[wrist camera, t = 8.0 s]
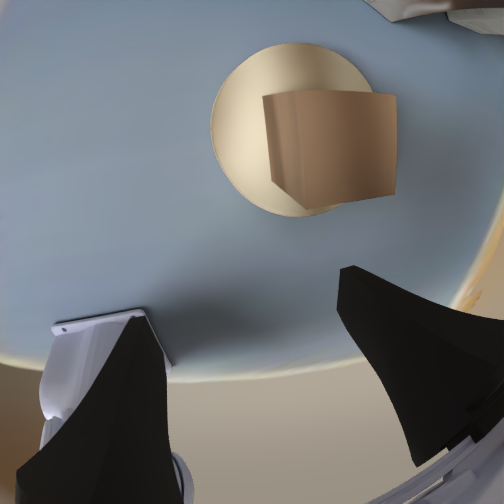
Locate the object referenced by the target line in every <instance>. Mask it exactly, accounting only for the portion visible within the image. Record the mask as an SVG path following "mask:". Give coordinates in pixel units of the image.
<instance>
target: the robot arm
mask: <svg viewBox="0 0 504 504" xmlns="http://www.w3.org/2000/svg"><path fill="white" fill-rule="evenodd" d="M337 312H338V314H339V316H340V318H341V320H342V322H343V324H344V325H345V327H346V329H347V331H348V332H349V334H350V335H351V337H352V338H353V340H354V341H355V343H356V344H357V346H358V347H359V348H360V350H361V351H362V353H363V354H364V356H365V357H366V358H367V360H368V361H369V363H370V364H371V366H372V367H373V369H374V370H375V372H376V373H377V375H378V376H379V378H380V380H381V382H382V384H383V386H384V388H385V390H386V392H387V394H388V396H389V397H390V400H391V402H392V404H393V406H394V409H395V411H396V413H397V415H398V418H399V421H400V423H401V426H402V428H403V431H404V434H405V437H406V440H407V443H408V446H409V450H410V453H411V457H412V461H413V462H414V464H415V466H416V467H419V466H421V465H422V464H423V463H425V462H426V461H428V460H429V459H431V458H432V457H434V456H435V455H436V454H438V453H439V452H440V451H442V450H443V449H445V448H446V447H447V449H448V450H449V452H448V453H447V454H445V455H444V456H443V457H442V458H440V459H439V460H437V461H436V462H435V463H433V464H432V465H430V466H429V467H428V468H426V469H425V470H423V471H422V472H420V473H419V474H417V475H416V476H414V477H412V478H411V479H409V480H408V481H406V482H404V483H403V484H401V485H399V486H398V487H396V488H394V489H392V490H390V491H389V492H387V493H385V494H383V495H381V496H379V497H377V498H375V499H373V500H371V501H369V502H367V503H365V504H402V503H404V502H406V501H407V500H409V499H411V498H412V497H414V496H415V495H417V494H418V493H420V492H421V491H423V490H424V489H426V488H427V487H429V486H430V485H432V484H433V483H434V482H436V481H437V480H439V479H440V478H441V477H443V481H442V482H440V483H438V484H437V485H435V486H433V487H431V488H430V489H428V490H426V491H425V492H423V493H422V494H420V495H418V496H417V497H416V498H414V499H413V500H412V501H410V502H409V503H408V504H504V320H498V319H491V318H486V317H481V316H476V315H472V314H468V313H464V312H461V311H457V310H454V309H451V308H448V307H445V306H442V305H440V304H437V303H434V302H432V301H429V300H427V299H424V298H422V297H420V296H417V295H415V294H413V293H411V292H409V291H406V290H404V289H402V288H400V287H398V286H396V285H394V284H392V283H390V282H388V281H386V280H384V279H382V278H380V277H378V276H376V275H374V274H372V273H370V272H368V271H366V270H364V269H362V268H359V267H357V266H355V265H353V266H349V267H346V268H342V269H340V278H339V290H338V300H337ZM132 315H134V316H136V317H132ZM65 328H66V329H65ZM51 329H52V332H53V333H54V335H55V336H56V337H55V339H54V342H53V345H52V348H51V351H50V354H49V357H48V360H47V363H46V366H45V369H44V372H43V376H42V379H41V383H40V390H39V393H40V394H39V395H40V403H41V408H42V411H43V414H44V416H45V418H46V419H47V420H46V422H45V424H44V428H43V433H42V438H41V444H40V450H39V452H38V453H36V454H35V455H34V456H33V457H32V458H31V459H30V460H29V461H27V462H26V463H25V464H24V465H23V466H21V467H20V468H19V469H18V470H17V472H16V487H15V504H193V501H194V484H193V479H192V476H191V473H190V471H189V469H188V467H187V465H186V463H185V462H184V460H183V459H182V458H181V457H180V456H179V455H178V454H177V453H175V452H172V451H171V449H170V443H169V436H168V421H167V376H166V373H168V372H171V371H172V365H171V364H170V362H169V360H168V358H167V356H166V354H165V352H164V350H163V348H162V346H161V344H160V342H159V340H158V338H157V336H156V334H155V332H154V330H153V328H152V326H151V324H150V322H149V320H148V318H147V316H146V313H145V312H144V311H143V310H141V309H136V310H131V311H126V312H120V313H115V314H110V315H104V316H99V317H94V318H88V319H82V320H77V321H71V322H65V323H59V324H54V325H53V326H52V328H51Z"/></svg>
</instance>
